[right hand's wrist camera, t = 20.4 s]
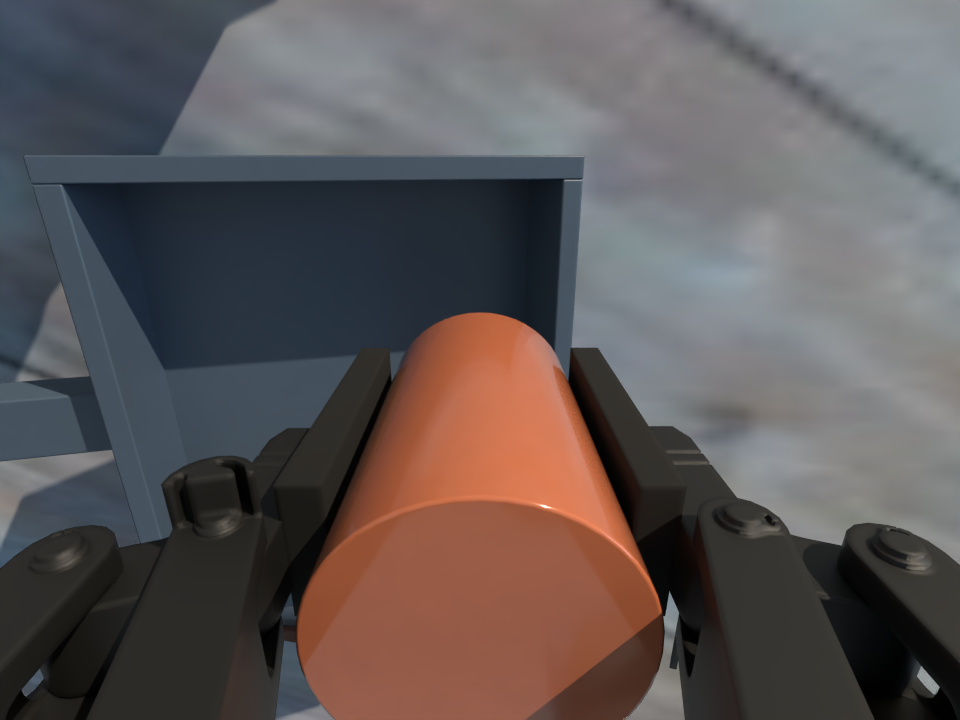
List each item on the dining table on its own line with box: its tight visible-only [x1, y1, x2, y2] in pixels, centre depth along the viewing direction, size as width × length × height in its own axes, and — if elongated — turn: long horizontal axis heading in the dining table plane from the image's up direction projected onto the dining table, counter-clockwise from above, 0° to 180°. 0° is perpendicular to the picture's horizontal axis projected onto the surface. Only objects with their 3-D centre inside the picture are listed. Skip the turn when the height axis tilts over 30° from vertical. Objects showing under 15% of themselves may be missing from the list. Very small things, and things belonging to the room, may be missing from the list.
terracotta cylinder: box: [295, 312, 665, 720], centre depth 11 cm, size 5×5×8 cm
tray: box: [0, 155, 584, 607], centre depth 18 cm, size 19×32×10 cm, turn 90°
